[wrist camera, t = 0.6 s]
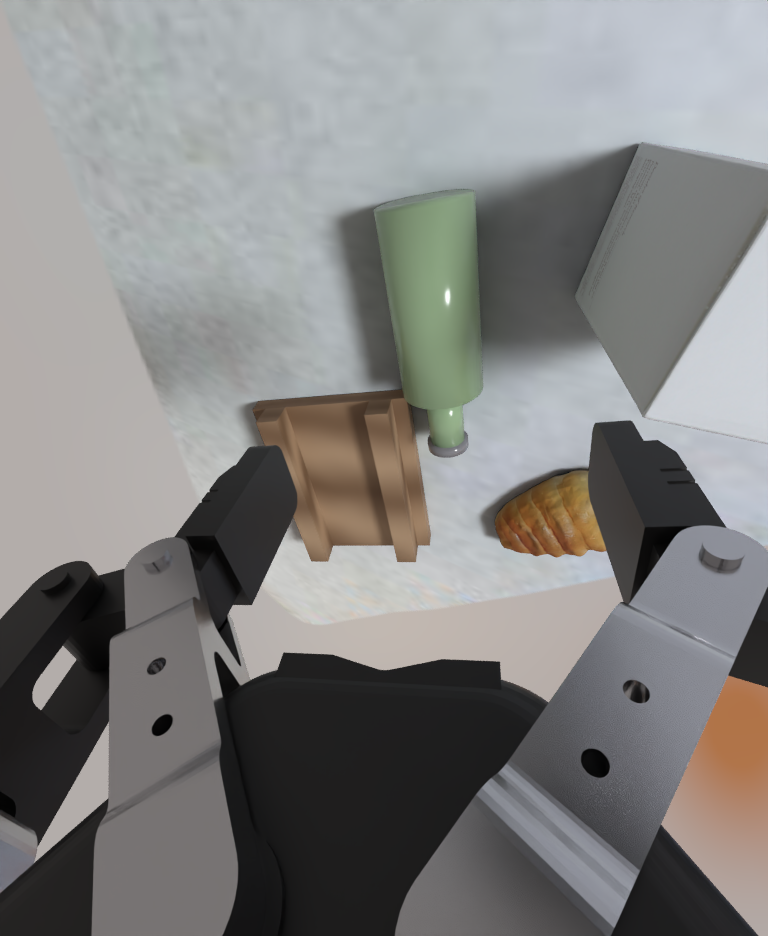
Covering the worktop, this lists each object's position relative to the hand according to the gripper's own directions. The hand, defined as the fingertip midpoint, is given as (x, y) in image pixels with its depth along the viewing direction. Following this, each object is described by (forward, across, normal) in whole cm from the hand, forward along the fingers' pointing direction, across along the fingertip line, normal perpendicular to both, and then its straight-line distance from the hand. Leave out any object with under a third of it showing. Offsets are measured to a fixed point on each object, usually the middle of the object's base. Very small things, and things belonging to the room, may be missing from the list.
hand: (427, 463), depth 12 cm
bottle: (+18, +1, +2) cm, 18 cm away
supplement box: (+18, -11, -1) cm, 21 cm away
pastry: (+19, -7, +17) cm, 26 cm away
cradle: (+18, +9, +13) cm, 24 cm away
